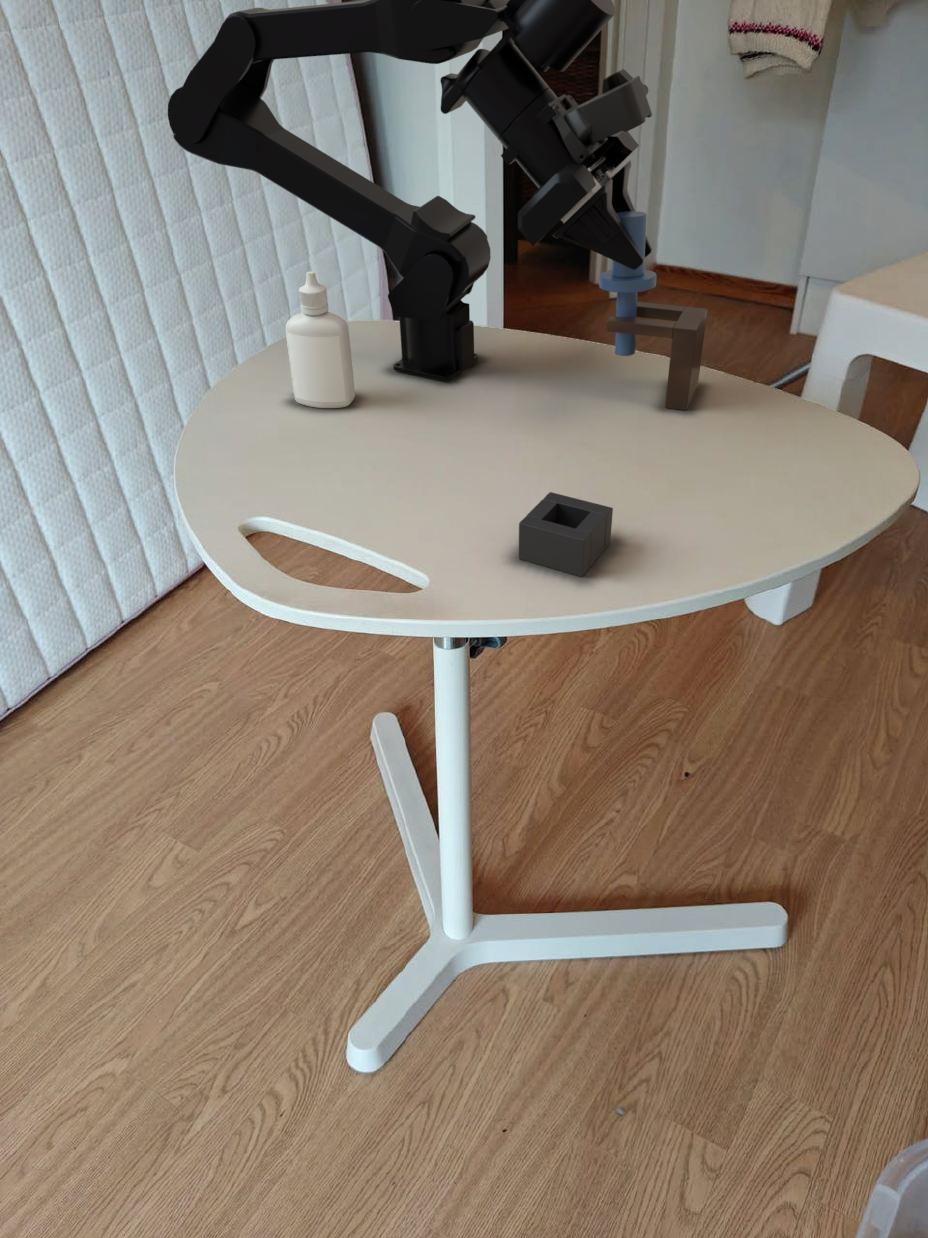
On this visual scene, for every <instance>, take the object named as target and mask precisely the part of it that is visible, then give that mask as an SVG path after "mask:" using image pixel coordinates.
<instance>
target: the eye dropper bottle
mask: <svg viewBox="0 0 928 1238" xmlns="http://www.w3.org/2000/svg"><path fill="white" fill-rule="evenodd" d="M305 274H306V275H305V284H304V285H302V286H300V287H299V288H298V296H299V305H300V312H298V313H296V314H294V315H293V316H291V318H289V319H288V320H287V322H286V324H285V338H286V345H287V353H288V361H289V368H290V376H291V382H292V383H291V384H292V390H293V399H294V400H295V402H296V403H297V404H300V405H303V406H307V407H311V408H318V409H338V408H339V409H340V408H341V409H342V408H346V407H348V406H349V405H350V404H351V403H352V402H353V401H354V400H355V397H356V387H355V377H354V367H353V357H352V346H351V338H350V329H349V328H350V327H349V325H348V322H347V320H346V319H344V318H343V317H341V316H340V315H338V314H336V313H333V312H331V311H329V300H328V292H327V287H326V286H325V285H324V284H320V283H319V282H318V278H317V276H316V272H315V271H313V270H310V271H307V272H306V273H305Z"/></svg>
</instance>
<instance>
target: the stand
mask: <svg viewBox="0 0 928 1238" xmlns="http://www.w3.org/2000/svg"><path fill="white" fill-rule="evenodd" d="M707 315H708V308H705V307H703V308H702V307H695V306H694V307H692V306H683V305H682V306H681V305H673V304H672V305H671V304H665V303H664V304H662V303H652V302H643V301H637V314H636V319H635V318H626V317H616V315H615V316H614V315H610V316H609V318H608V319H607V320H606V330H605V331H606V332H608V333H616V332H617V333H626V334H635V335H636V336H643V337H645V336H646V337H654V338H662V339H663V338H664V339H671V347H670V357H669V366H668V375H667V382H666V383H667V385H666V392H665V393H666V394H665V402H664V408H665V409H673V410H679V411H680V410H681V411H687V410H688V408H689V406H690V404H691V402H692V400H693V397H694V395H695V393H696V391H697V389H698V386H699V379H700V372H701V365H702V364H701V363H702V355H703V347H704V338H705V332H706V331H705V330H706V323H707Z"/></svg>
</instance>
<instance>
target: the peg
mask: <svg viewBox="0 0 928 1238" xmlns="http://www.w3.org/2000/svg"><path fill="white" fill-rule="evenodd" d="M616 214H617V215H618V217H619V218H620V220H621V222H622V223H623V225H624V227H625V228H626V230H627V232H628V233H629V235H630V236H631V238H632V240H633V241H634V243H635V245H636V246H637V248H638V250H639V252H640V254H641V255H642V257H643V259H644V262H643V264H642V265H640V266H639V267H638V268H637V269H635V270H634V269H631V268H629V267H627V266H625V265H622V264H620V263H618V262H616V261H614V260H612V259H611V269H610V270H606V271H603V272H601V273H600V274H599V275H598V277H599V278H598V280H599V281H598V287H599V289H601V290H603V291H605V292H610V293H616V309H615V311H616V312H615V316H616V317H626V318H635V319H637V317H636V314H637V302H638V293H642V292H647V291H651V290H652V289H655V288H656V287H657V278H658V277H657V273H656V272H654V271H653V270H651V269H645V259H646V257H645V240H646V237H647V218H648V217H647V216H648V214H647V212H644V211H637V210H635V211H628V212H619V213H616ZM636 336H637V335H635V334H626V333H617V332H615V339H614V340H615V342H614V344H615V346H614V354H615V355H617V356H620V357H630V356H633V355H635V354H636V338H637V337H636Z"/></svg>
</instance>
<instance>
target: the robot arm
mask: <svg viewBox="0 0 928 1238" xmlns="http://www.w3.org/2000/svg"><path fill="white" fill-rule="evenodd" d="M615 15H616V8H615V5H614V2H613V1H612V0H355V1H344V2H333V3H325V4H315V5H314V4H312V5H302V6H294V7H293V6H291V7H284V8H273V9H268V8H264V7H252V8H248V9H244V10H237V11H235V12H232V13H230V14H228V16H227V17H226V18H225V19H224V21H223V22H222V23H221V26H220V28H219V29H218V32H217V34H216V35H215V38H214V40H213V42H212V43H211V45H210V46H209V47H208V48H207V50H206V51H205V52H204V53H203V55H202V56H201V57H200V58H199V60H198V61H197V62H196V63H195V65H194V66H193V67H192V69H191V70H190V71H189V73H188V75H187V76H186V78H185V81H184V83H183V84H182V86H181V87H177V89H175V90H174V92H173V93H172V94H171V95H170V97H169V101H168V102H167V119H168V123H169V127H170V129H171V132H172V134H173V136H172V137H173V140H174V141H175V142H176V144H177V145H178V146H179V147H181V148H182V149H183V150H184V151H186V152H188V153H189V154H191V155H194V156H196V157H198V158H199V157H200V158H201V159H203V160H207V161H210V162H212V163H215V164H217V165H222V166H228V167H233V168H239V169H244V170H248V171H253V172H255V173H257V174H259V175H260V176H261V177H263V178H265V179H267V180H268V181H270V182H272V183H273V184H275V185H276V186H277V187H280V188H282V189H283V190H285V191H286V192H288V193H289V194H292V195H293V196H295V198H296V197H297V199H300V200H301V201H303V202H305V203H306V204H308V205H309V206H311V207H312V208H314V209H316V210H317V211H319V212H321V213H323V214H324V215H326V216H327V217H329V218H331V219H333V220H334V221H335V222H338V223H339V224H341V225H342V226H344V227H345V228H347V229H349V230H350V231H352V232H353V233H356V234H357V235H359V236H360V237H362V238H363V239H365V240H367V241H369V242H370V243H372V244H374V245H375V246H377V247H378V248H379V249H381V250H382V252H384V253H385V255H386V257H387V258H388V260H389V261H390V263H391V264H392V266H393V268H394V269H395V270H396V271H397V273H398V275H399V276H400V277H401V278H402V279H401V280H400V281H399V282H398V283H397V284H396V285H395V287H393V289H392V290H391V291H390V292H388V294H387V299H388V302H389V304H390V307H391V309H392V312H393V315H394V316H395V317H397V318H398V319H399V332H400V333H399V334H400V350H401V359H400V360H398V361H397V362H394V363H393V370H394V371H396V372H400V373H405V374H410V375H415V376H419V377H425V378H429V379H433V380H434V379H435V380H438V381H443V382H444V381H445V382H447V381H451V380H452V379H453V378H455V377H457V376H458V375H459V374H461V373H462V372H464V371H465V370H466V369H467V368H469V367H470V366H472V365H473V364H474V363H476V362H477V361H478V360H479V356H480V355H479V354H478V353H475V324H474V321H473V320H471V318H470V317H471V316H470V314H471V312H470V311H471V309H470V303H467V302H464V301H463V299H464V298H465V297H466V296H467V295H470V293H472V290H473V287H474V284H475V283H476V282H477V281H478V280H479V279H480V278H481V277H483V275H484V274H485V273H486V271H487V270H488V269H489V266H490V263H491V259H492V258H491V247H490V243H489V240H488V235H487V234H486V232H485V231H484V230H483V229H482V228H481V227H480V226H479V225H478V224H476V223H475V222H473V221H474V220H475V219H476V215H475V214H472V213H466V212H463V211H461V210H459V209H458V208H457V207H455V206H454V205H453V204H452V203H450V202H449V201H448V200H447V199H445V198H443V197H442V196H440V195H436V196H435V197H433V198H431V199H430V200H428V201H427V202H426V203H424V204H423V205H421V206H420V205H419V206H418V205H413V204H410V203H408V202H406V201H404V200H402V199H401V198H399V197H398V196H396V195H394V194H392V193H391V192H390V191H387V190H386V189H384V188H383V187H381V186H379V185H378V184H377V183H374V182H373V181H371V180H369V179H368V178H366V177H365V176H363V175H362V174H360V173H358V172H356V171H355V170H353V169H352V168H350V167H348V166H347V165H345V164H343V163H341V162H340V161H339V160H337V159H335V158H334V157H332V156H330V155H328V154H327V153H326V152H324V151H322V150H320V149H319V148H317V147H315V146H314V145H312V144H311V143H308V142H307V141H305V140H304V139H303V138H301V137H299V136H297V135H296V134H294V133H292V132H291V131H289V130H287V129H286V128H285V127H283V126H282V125H281V124H280V123H279V121H278V119H277V118H276V117H275V115H274V114H273V112H272V110H271V109H270V108H269V106H268V104H267V102H265V100H263V99H262V97H263V95H264V94H265V92H266V90H267V87H268V83H269V80H270V76H271V71H272V66H273V63H274V61H275V60H283V59H286V60H287V59H297V58H298V59H299V58H309V57H311V58H312V57H323V56H336V55H337V56H338V55H349V54H362V53H372V54H379V55H385V56H388V57H392V58H394V59H398V60H403V61H409V62H415V63H423V64H430V65H439V64H442V63H443V64H444V63H446V62H449V61H451V60H454V59H456V58H458V57H461V56H463V55H467V54H470V53H471V52H473V51H475V50H476V49H477V48H478V49H477V50H476V51H475V52H474V54H473V55H472V56H471V57H470V58H469V59H468V61H467V62H466V63H465V64H464V66H463V67H462V68H461V69H460V70H459V72H458V73H453V72H451V73H448V74H445V75H444V76H441V77H440V79H439V82H440V84H441V98H440V112H441V113H442V114H443V115H448V114H449V113H451V112H453V111H455V110H457V109H459V108H461V107H462V106H463V105H464V104H465V102H466V103H467V104H468V105H469V107H470V108H472V110H473V111H474V112H475V114H476V115H477V116H478V117H479V118H480V120H481V121H482V122H483V123H484V124H485V126H486V127H487V128H488V129H489V130H490V132H491V133H492V134H493V135H494V137H495V138H496V139H497V140H498V141H499V142H500V144H501V145H502V146H503V147H504V148H505V150H504V151H503V152H502V153H501V155H500V157H501V158H502V159H503V161H504V162H505V163H506V164H507V165H508V166H509V165H511V164H513V163H514V162H516V163H517V164H518V165H519V167H520V168H521V169H522V170H523V172H524V173H525V174H526V175H527V176H528V177H529V178H530V180H531V181H532V182H533V183H534V185H535V186H536V187H537V190H536V191H535V192H534V193H533V195H532V197H531V198H530V199H529V200H528V201H527V202H526V203H525V204H524V205H523V206H522V207H521V208H520V210H519V211H518V212H517V230H518V232H520V233H521V235H522V236H523V237H524V238H525V240H526V241H527V242H528V243H529V244H530V246H531V247H534V246H535V245H537V244H538V243H539V242H540V241H541V240H542V239H543V238H544V237H545V236H546V235H547V234H548V233H549V232H550V231H551V230H552V229H553V228H554V227H555V226H556V225H557V224H558V223H560V221H561V222H562V223H563V224H561V226H560V227H559V228H558V229H557V230H556V231H555V232H554V233H553V234H552V236H553V238H555V239H556V240H558V239H559V238H560V239H562V240H564V241H566V242H569V243H573V244H575V245H577V246H580V247H582V248H584V249H587V250H589V251H591V252H594V253H596V254H599V255H601V256H603V257H606V258H608V259H610V260H611V261H612V260H614V261H616V262H618V263H620V264H622V265H625V266H627V267H629V268H631V269H634V270H635V269H637V268H638V267H639V266H640V265H642V264H643V262H644V259H643V257H642V255H641V254H640V252H639V250H638V248H637V246H636V245H635V243H634V241H633V240H632V238H631V236H630V235H629V233H628V232H627V230H626V228H625V227H624V225H623V223H622V222H621V220H620V218H619V217H618V215H617V214H616V213H619V212H628V211H636V209H635V206H634V204H633V202H632V199H631V197H630V194H629V192H628V185H629V176H630V171H631V168H632V161H631V160H629V161H628V162H626V163H625V164H624V165H623V166H622V167H621V168H620V169H619V170H617V168H618V167H619V166H620V165H621V164H622V163H623V162H624V161H625V160H627V158H628V157H629V156H630V155H632V154H633V152H634V151H635V150H636V149H638V147H639V146H640V144H638V142H637V141H636V139H634V137H633V136H632V134H631V133H630V132H629V131H631V130H633V129H635V128H637V127H639V126H641V125H642V124H644V123H645V122H646V119H647V118H651V117H652V116H653V113H652V110H651V106H650V103H649V100H648V98H647V95H648V93H649V87H648V85H646V84H644V83H643V82H642V80H641V76H640V75H637V76H635V77H633V76H632V75H631V74H630V73H629V72H628V71H627V70H626V69H624V68H622V69H619V70H618V71H616V72H614V73H612V74H610V75H608V76H606V77H604V79H603V80H602V88H601V89H602V90H601V94H598V95H596V96H594V97H592V98H591V99H589V100H587V101H585V102H583V103H581V104H578V103H577V102H576V100H575V99H574V98H573V96H571V95H570V94H567V95H566V93H564V94H562V95H560V96H559V97H558V96H557V95H556V94H555V92H554V91H553V89H551V87H550V86H549V85H548V84H547V82H546V81H545V80H544V78H542V76H541V75H540V74H539V73H538V71H539V72H543V73H546V72H547V71H548V70H549V69H550V68H551V69H553V70H555V71H557V72H564V71H565V70H567V69H568V67H569V66H570V65H571V64H572V63H573V62H574V60H576V58H577V57H578V56H579V55H580V54H581V53H582V52H583V51H584V50H585V49H586V47H587V46H588V45H589V44H590V43H591V42H592V41H593V39H595V37H596V36H597V35H598V34H599V33H600V32H601V31H602V29H603V28H604V27H605V26H606V25H607V24H608V23H609V22H610V21H611V19H612V18H613V17H615ZM506 30H507V31H506ZM503 31H506V32H505V34H504V35H503V36H502V37H501V39H500V40H499V41H498V42H497V43H496V44H495V45H494V46H493V48H492V49H491V50H489V49H486V48H479V46H480V44H481V43H482V42H483V40H484V39H485V38H487V37H489V36H492V35H494V34H497V33H500V32H503ZM537 70H538V71H537ZM652 250H653V248H652V246H651V242H650V241H649V239H648V237H647V236H646V240H645V258H647V257H648V256H649V255H650V254H651V253H652ZM644 263H645V262H644Z"/></svg>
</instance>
